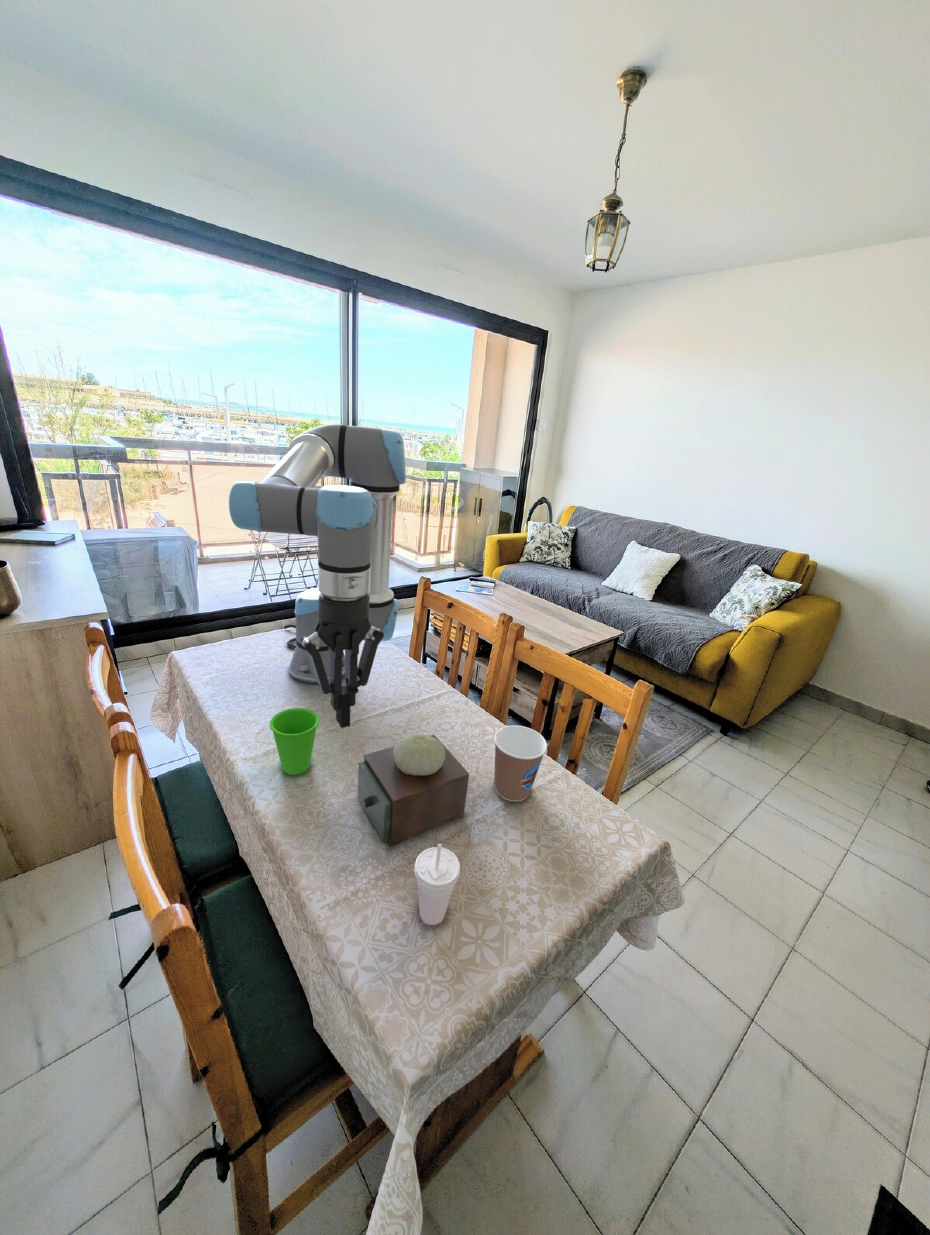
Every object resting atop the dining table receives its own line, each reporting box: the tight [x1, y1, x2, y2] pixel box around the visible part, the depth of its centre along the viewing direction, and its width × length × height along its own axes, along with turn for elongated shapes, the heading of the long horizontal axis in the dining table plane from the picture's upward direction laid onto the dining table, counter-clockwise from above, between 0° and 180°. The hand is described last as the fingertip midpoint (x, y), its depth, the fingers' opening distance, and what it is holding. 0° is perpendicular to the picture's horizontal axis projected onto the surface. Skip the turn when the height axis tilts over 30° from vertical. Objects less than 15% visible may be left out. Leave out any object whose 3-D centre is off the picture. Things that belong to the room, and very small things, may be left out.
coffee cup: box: [493, 724, 548, 803], centre depth 93 cm, size 10×10×12 cm
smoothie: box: [414, 843, 461, 926], centre depth 67 cm, size 6×6×14 cm
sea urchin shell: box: [393, 732, 445, 776], centre depth 84 cm, size 9×8×8 cm
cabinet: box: [363, 734, 470, 847], centre depth 86 cm, size 15×13×10 cm
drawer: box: [357, 760, 392, 843], centre depth 85 cm, size 15×12×8 cm
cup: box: [269, 707, 320, 776], centre depth 93 cm, size 9×9×11 cm
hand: (342, 722), depth 80 cm, fingers closed
